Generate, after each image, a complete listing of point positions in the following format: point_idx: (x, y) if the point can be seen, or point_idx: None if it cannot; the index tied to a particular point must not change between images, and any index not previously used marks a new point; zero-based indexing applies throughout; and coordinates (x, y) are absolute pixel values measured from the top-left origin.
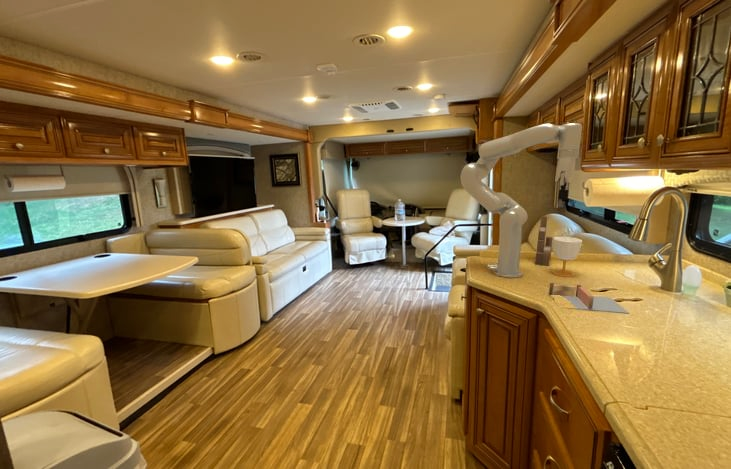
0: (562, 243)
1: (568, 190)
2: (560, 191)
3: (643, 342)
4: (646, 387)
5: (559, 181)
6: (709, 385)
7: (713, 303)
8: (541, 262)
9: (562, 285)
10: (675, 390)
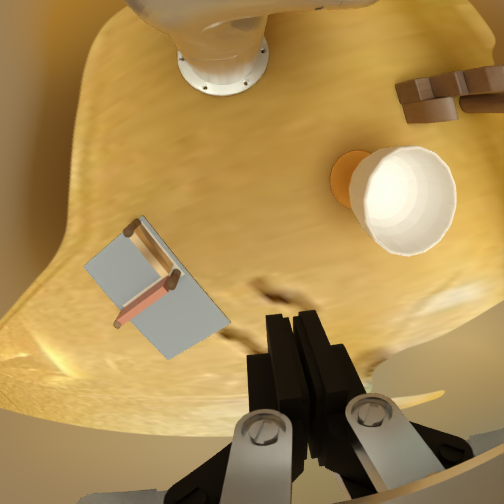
0: (360, 197)
1: (319, 460)
2: (274, 395)
3: (80, 379)
4: (4, 379)
5: (444, 484)
6: (53, 415)
7: None
8: (404, 101)
9: (147, 252)
10: (21, 395)
